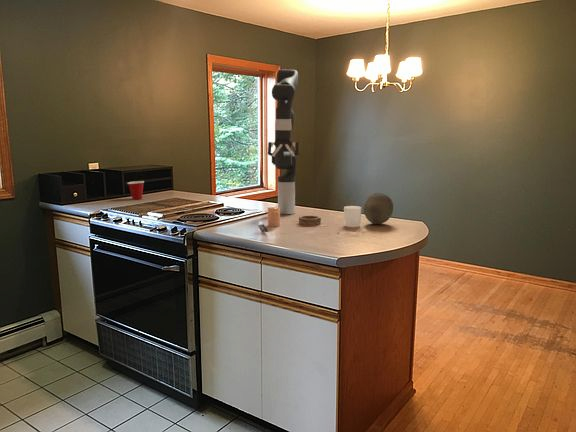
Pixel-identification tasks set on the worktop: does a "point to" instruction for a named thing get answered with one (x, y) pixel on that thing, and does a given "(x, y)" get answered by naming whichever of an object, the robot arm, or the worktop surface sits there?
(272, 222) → the peach ice lolly
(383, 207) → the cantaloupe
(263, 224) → the charcoal mat
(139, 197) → the plastic cup
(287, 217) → the worktop surface
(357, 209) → the white cup
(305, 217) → the walnut holder
